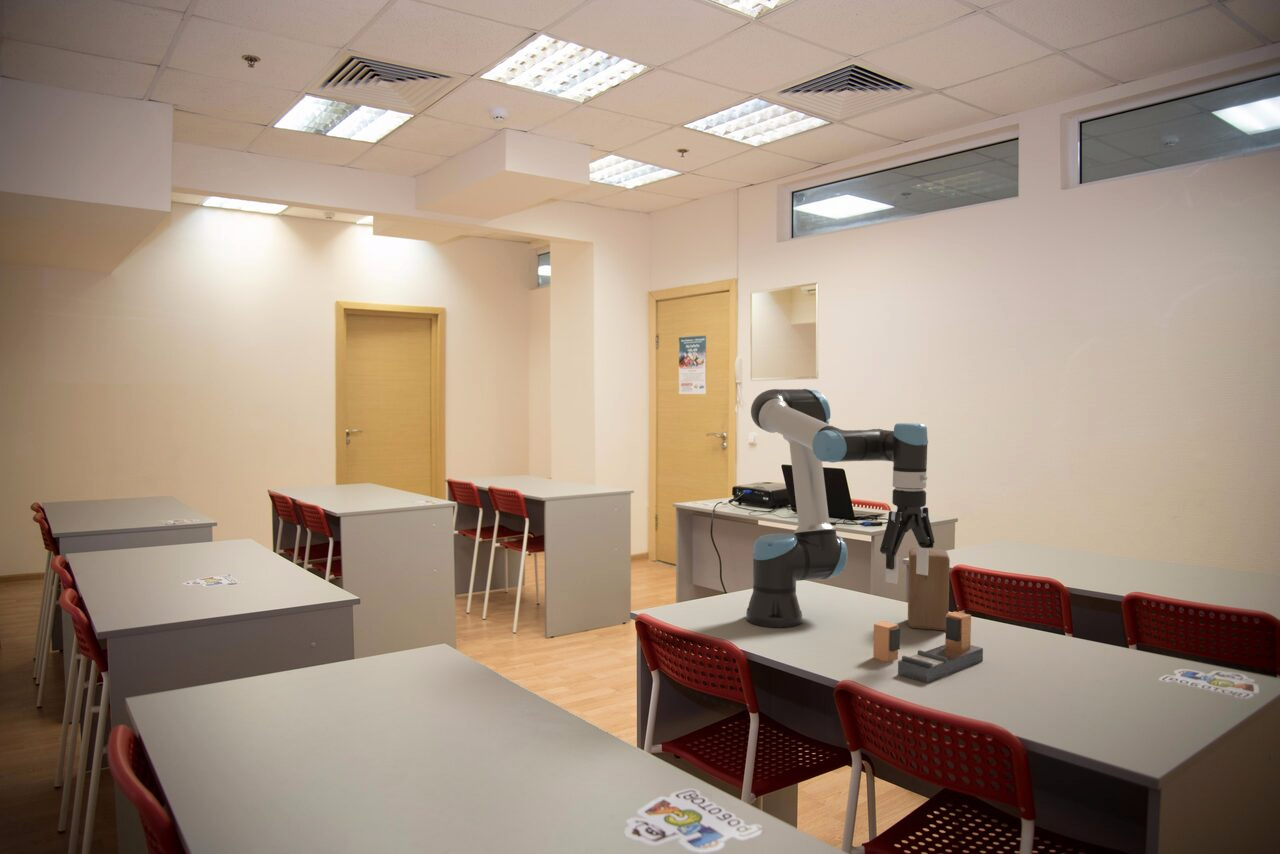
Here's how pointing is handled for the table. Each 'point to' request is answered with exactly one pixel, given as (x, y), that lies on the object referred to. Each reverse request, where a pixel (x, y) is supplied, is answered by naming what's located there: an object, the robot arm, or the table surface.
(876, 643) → the tall peach prism
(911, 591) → the wooden block
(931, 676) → the rail
